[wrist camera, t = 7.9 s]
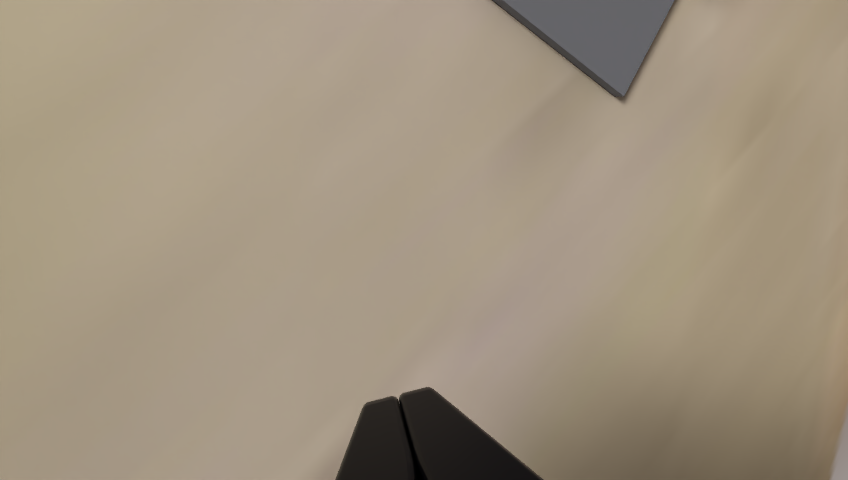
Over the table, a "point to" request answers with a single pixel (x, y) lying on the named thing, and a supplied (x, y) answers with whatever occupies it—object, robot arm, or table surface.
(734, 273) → the table surface
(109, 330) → the table surface
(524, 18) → the mat
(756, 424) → the table surface
